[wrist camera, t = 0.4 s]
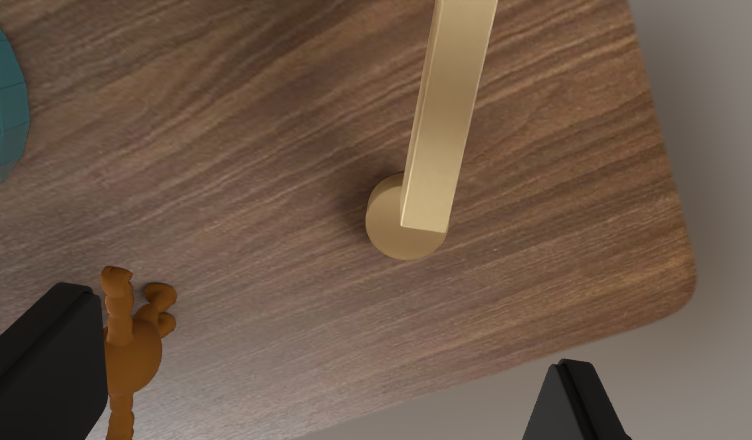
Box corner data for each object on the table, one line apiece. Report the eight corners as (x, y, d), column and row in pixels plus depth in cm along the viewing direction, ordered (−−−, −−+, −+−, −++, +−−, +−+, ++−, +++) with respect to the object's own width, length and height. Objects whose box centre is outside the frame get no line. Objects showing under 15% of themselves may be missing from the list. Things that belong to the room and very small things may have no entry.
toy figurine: (129, 214, 31) (63, 274, 25) (194, 226, 31) (143, 288, 25) (130, 376, 36) (75, 458, 30) (186, 385, 36) (142, 469, 30)
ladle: (415, -104, 24) (423, -144, 16) (512, -88, 24) (570, -119, 16) (362, 237, 31) (349, 331, 23) (437, 249, 31) (451, 346, 23)
